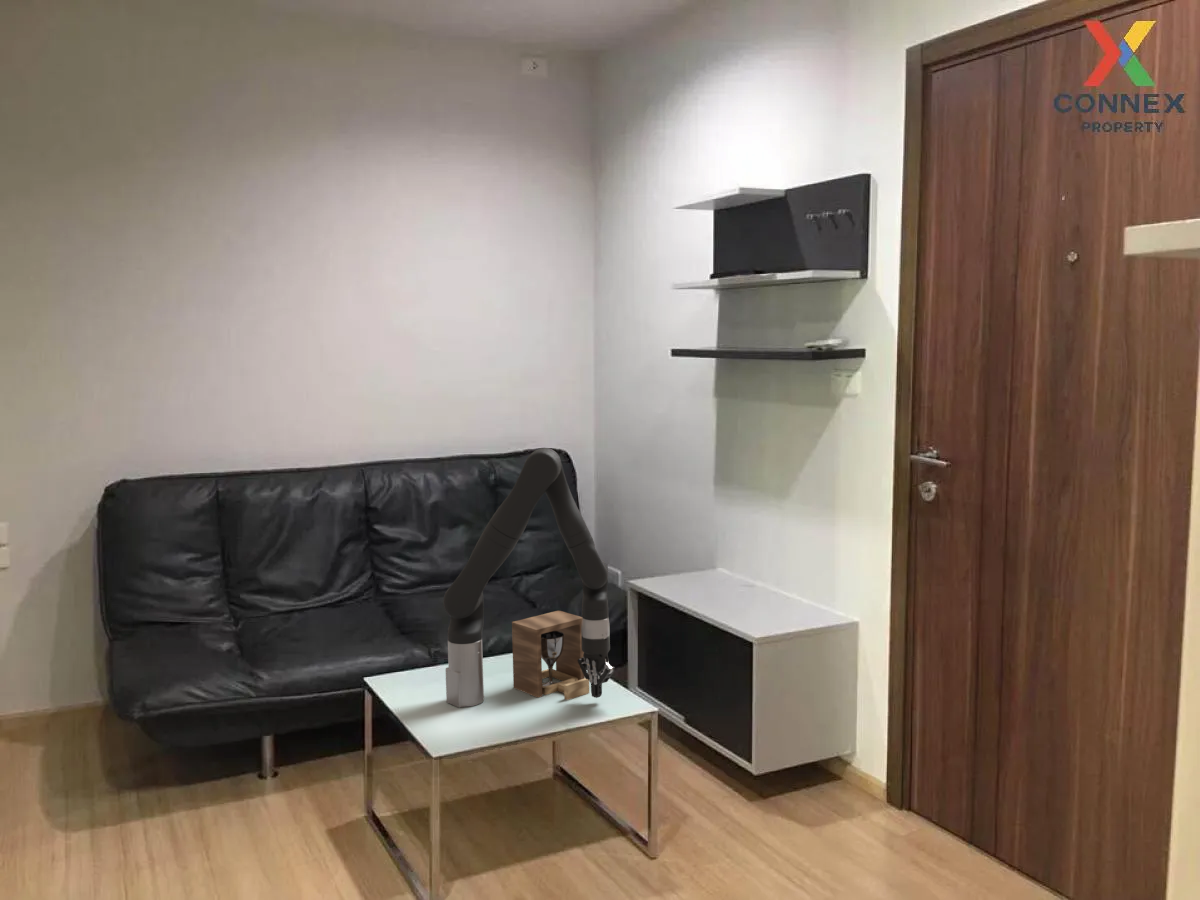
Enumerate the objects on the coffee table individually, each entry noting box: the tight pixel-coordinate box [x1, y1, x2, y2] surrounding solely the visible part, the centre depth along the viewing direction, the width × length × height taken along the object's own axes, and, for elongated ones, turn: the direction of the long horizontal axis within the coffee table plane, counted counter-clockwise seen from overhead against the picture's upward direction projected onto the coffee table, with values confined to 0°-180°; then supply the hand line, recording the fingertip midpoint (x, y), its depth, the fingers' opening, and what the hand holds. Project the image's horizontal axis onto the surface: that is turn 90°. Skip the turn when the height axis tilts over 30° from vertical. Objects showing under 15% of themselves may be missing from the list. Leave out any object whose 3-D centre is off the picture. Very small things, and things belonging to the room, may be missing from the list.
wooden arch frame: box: [511, 610, 585, 698], centre depth 288 cm, size 17×11×19 cm, turn 132°
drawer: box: [542, 668, 590, 701], centre depth 287 cm, size 12×19×4 cm, turn 42°
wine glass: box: [541, 631, 564, 686], centre depth 288 cm, size 8×8×15 cm
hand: (596, 696), depth 274 cm, fingers closed
